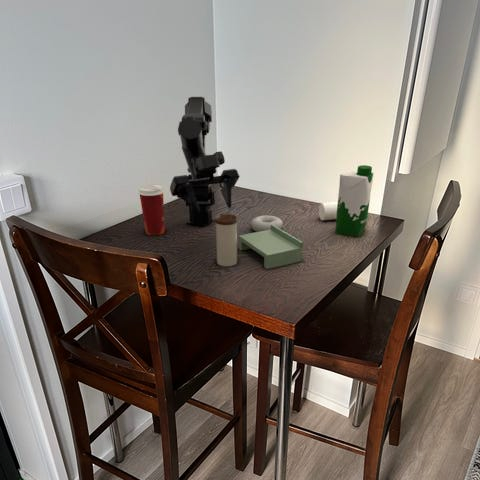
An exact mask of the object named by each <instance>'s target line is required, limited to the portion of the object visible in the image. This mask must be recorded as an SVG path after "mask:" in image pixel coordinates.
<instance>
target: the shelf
mask: <svg viewBox="0 0 480 480" xmlns="http://www.w3.org/2000/svg"><path fill="white" fill-rule="evenodd" d="M303 248H304V242H303V241H301V239H298V238H296V237H295V236H293V235H292V234H290V233H288V232H286V231H284V230H283V229H282V228H281V229H279V228H278V227H276V226H274V225H273V224H271V230H265V231H260V232H256V231H254V232H250V233H245V234H240V235H238V249H239V250H240V251H245V250H250V249H251V250H253V251H255V252H256V253H257V254H259V255H260V256H262V257H263V258H264V259H263V260H264V261H263V267H264V268H265V269H266V270H269V269H274V268H279V267H282V266H287V265H292V264H296V263H301V262H303V250H304V249H303Z"/></svg>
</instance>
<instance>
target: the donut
mask: <svg viewBox="0 0 480 480" xmlns="http://www.w3.org/2000/svg"><path fill="white" fill-rule="evenodd" d="M271 224H273V225H274V226H276V227H278V228H279V229H281V230H282V228H283V226H284V225H283V221H282V220H281V219H280V217H277V216H274V215H258V216H255V217H254V218H253V219H252V220H251V222H250V227H251V229H252V230H253V231H254V232H260V231H265V230H271Z"/></svg>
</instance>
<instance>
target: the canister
mask: <svg viewBox="0 0 480 480" xmlns="http://www.w3.org/2000/svg"><path fill="white" fill-rule="evenodd" d="M214 222H215V244H216V247H215V248H216V249H215V250H216V263H217V265H218V266H220V267H233V266H236V265H237V264H238V216H237V215H235V214H230V213H223V214H218V215H216V216H215V217H214Z"/></svg>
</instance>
